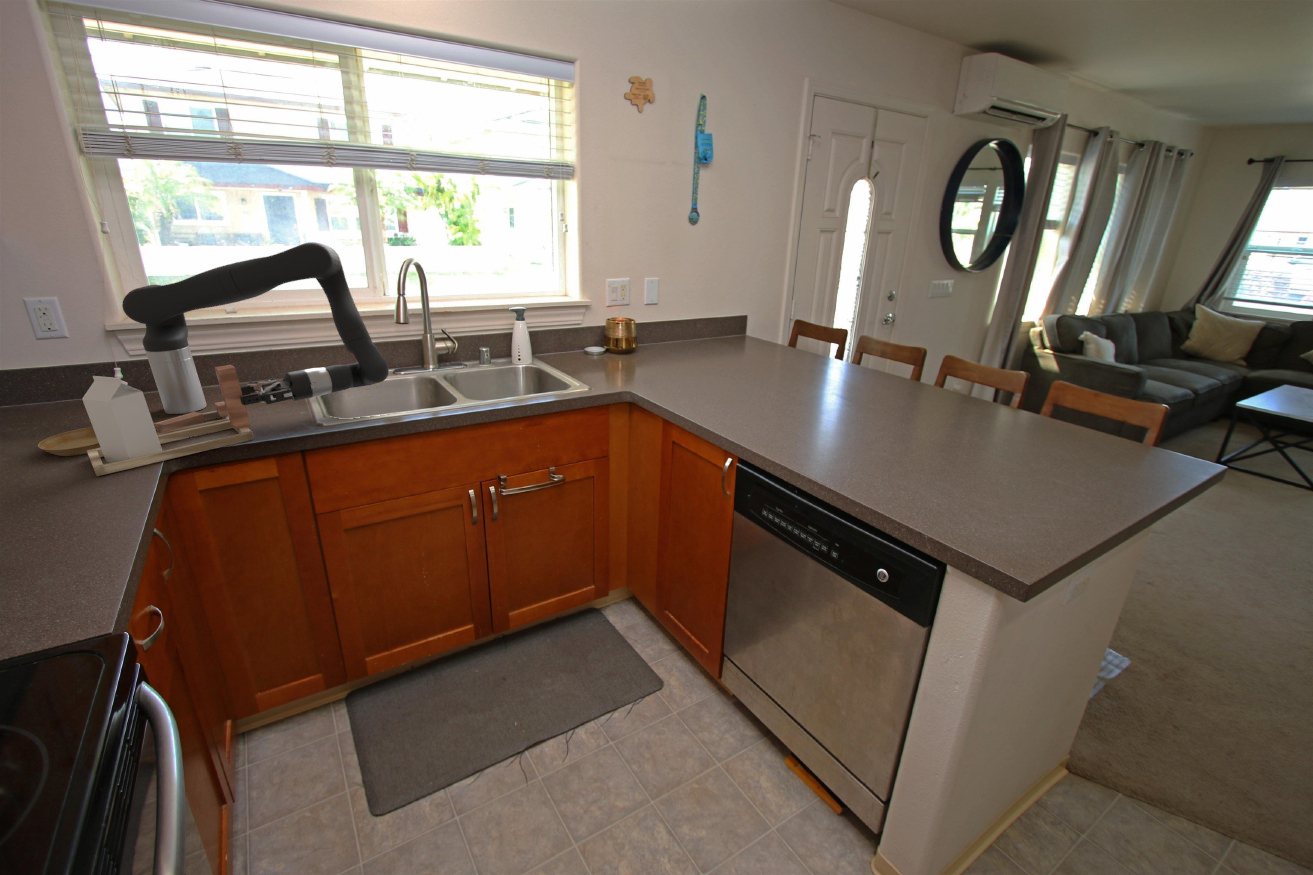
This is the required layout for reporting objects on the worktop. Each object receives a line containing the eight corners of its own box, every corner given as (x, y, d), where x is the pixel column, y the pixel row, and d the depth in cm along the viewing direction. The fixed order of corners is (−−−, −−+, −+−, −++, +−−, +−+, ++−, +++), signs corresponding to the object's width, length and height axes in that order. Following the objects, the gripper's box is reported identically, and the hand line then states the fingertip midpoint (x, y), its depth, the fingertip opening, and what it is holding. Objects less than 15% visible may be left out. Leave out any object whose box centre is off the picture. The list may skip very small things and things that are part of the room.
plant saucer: (119, 431, 147) (115, 421, 146) (133, 445, 138) (130, 435, 137) (37, 448, 136) (33, 438, 135) (47, 465, 128) (42, 455, 127)
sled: (89, 457, 131) (61, 385, 124) (243, 424, 151) (225, 360, 144) (96, 476, 122) (66, 400, 116) (258, 438, 142) (240, 371, 136)
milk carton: (132, 466, 127) (102, 383, 120) (106, 463, 129) (74, 380, 122) (164, 453, 134) (136, 373, 127) (138, 450, 135) (110, 371, 128)
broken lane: (132, 434, 144) (125, 416, 142) (231, 414, 158) (226, 397, 156) (139, 445, 138) (132, 426, 136) (241, 423, 152) (236, 406, 150)
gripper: (296, 364, 156) (224, 376, 145) (315, 375, 147) (240, 388, 136) (302, 391, 159) (232, 404, 148) (321, 403, 150) (248, 418, 139)
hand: (236, 397), depth 142 cm, fingers open, 8 cm apart
